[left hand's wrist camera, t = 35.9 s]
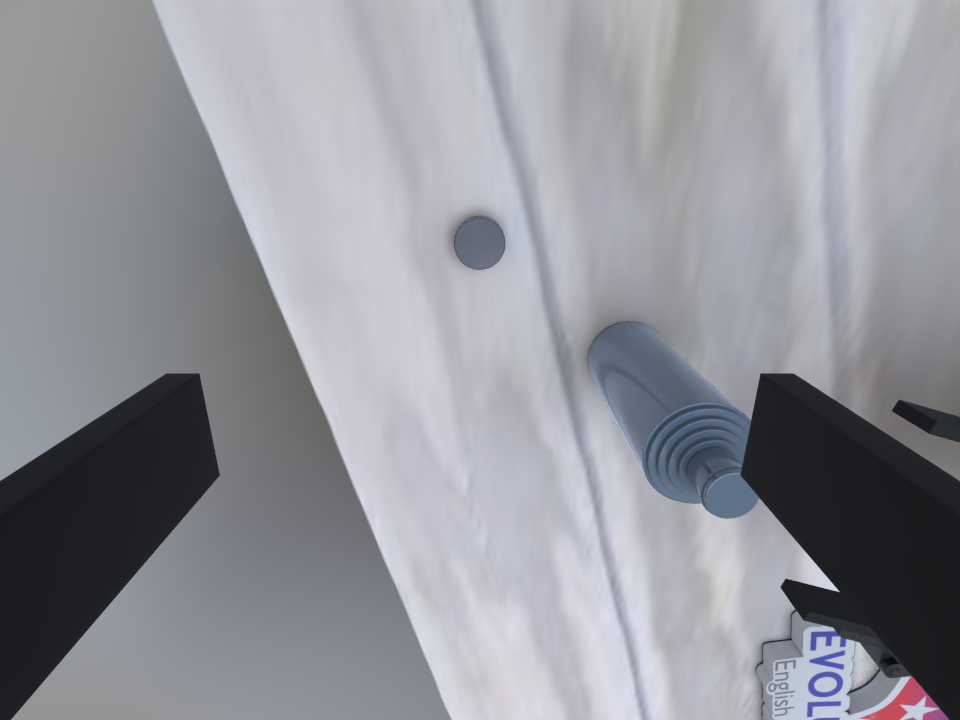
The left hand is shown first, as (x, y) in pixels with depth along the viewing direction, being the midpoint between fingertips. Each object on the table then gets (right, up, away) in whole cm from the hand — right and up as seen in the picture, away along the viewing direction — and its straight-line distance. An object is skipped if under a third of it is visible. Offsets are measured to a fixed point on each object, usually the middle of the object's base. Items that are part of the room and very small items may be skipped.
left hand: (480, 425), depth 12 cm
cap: (0, +11, +31) cm, 33 cm away
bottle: (+14, +2, +37) cm, 39 cm away
